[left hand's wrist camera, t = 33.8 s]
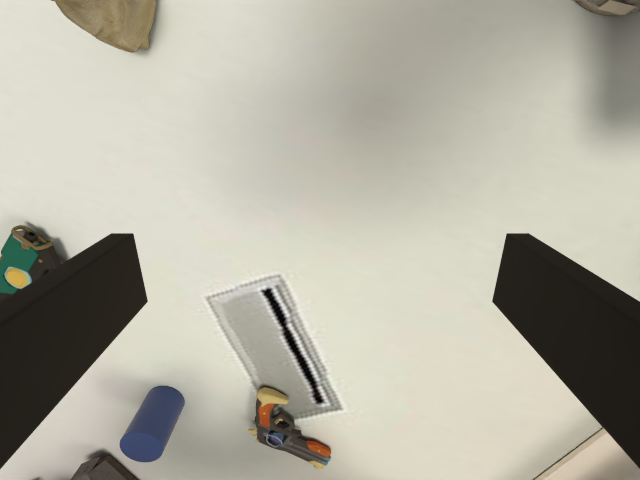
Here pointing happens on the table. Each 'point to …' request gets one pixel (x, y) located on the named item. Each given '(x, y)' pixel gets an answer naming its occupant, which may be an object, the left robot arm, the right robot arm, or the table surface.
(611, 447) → the tablet stand
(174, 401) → the can
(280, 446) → the toy gun
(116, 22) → the sculpture
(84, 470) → the toy
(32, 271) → the spray gun
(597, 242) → the table surface
